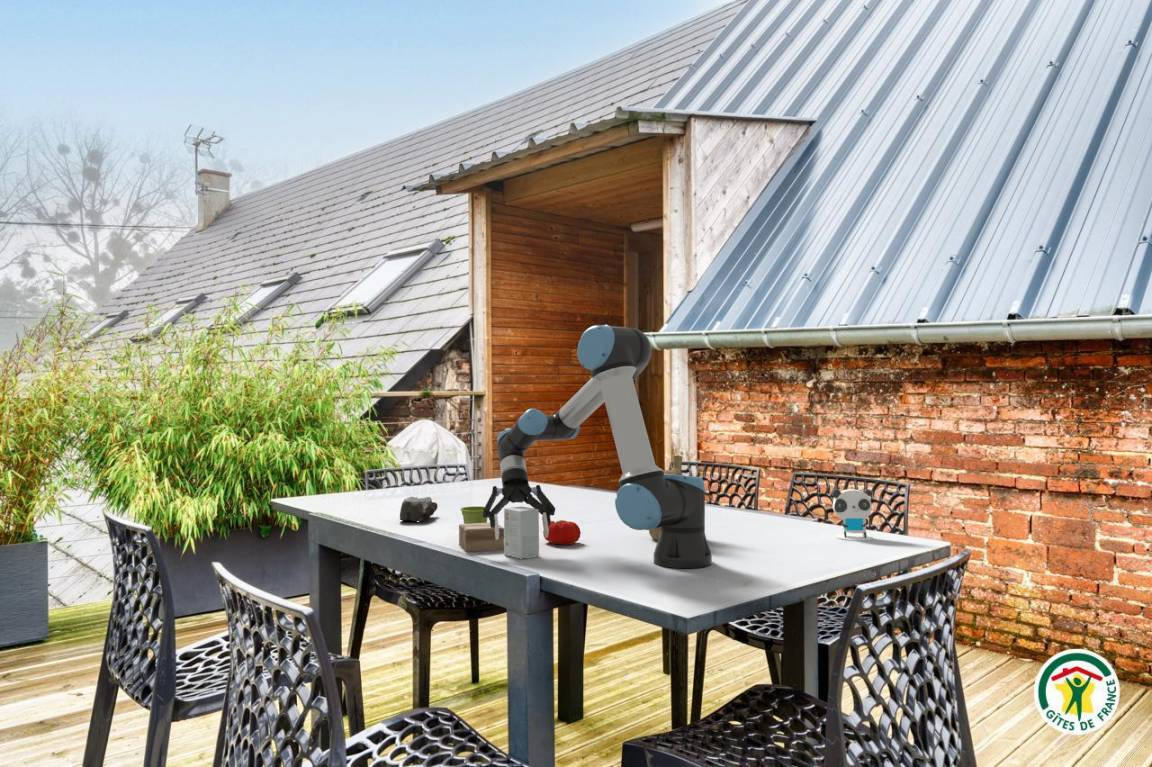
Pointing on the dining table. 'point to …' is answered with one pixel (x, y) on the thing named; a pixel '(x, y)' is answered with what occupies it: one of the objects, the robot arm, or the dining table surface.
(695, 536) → the robot arm
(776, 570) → the dining table surface
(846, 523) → the panda figurine
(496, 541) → the walnut block
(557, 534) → the tomato
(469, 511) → the plant pot
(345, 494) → the dining table surface
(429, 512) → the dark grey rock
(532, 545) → the small box
